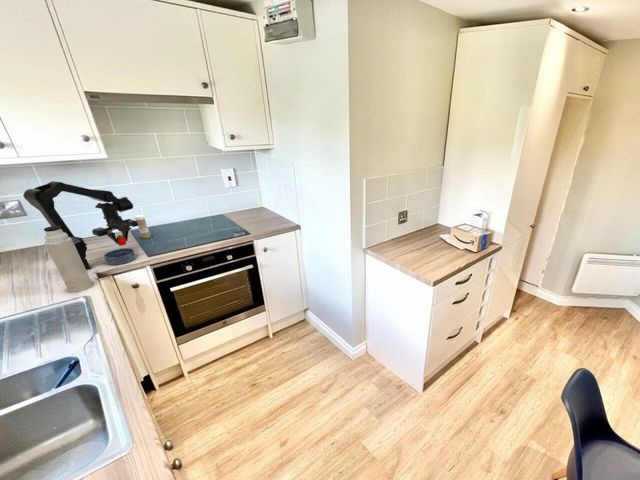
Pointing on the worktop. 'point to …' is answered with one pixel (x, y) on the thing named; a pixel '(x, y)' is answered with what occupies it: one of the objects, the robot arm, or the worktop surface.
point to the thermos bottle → (66, 259)
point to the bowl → (119, 256)
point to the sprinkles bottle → (142, 226)
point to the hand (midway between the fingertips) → (122, 242)
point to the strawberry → (121, 240)
